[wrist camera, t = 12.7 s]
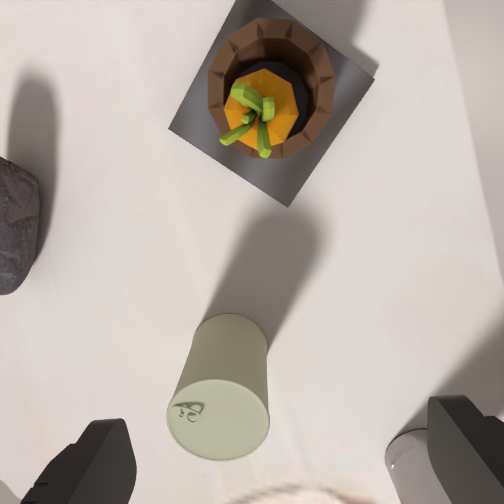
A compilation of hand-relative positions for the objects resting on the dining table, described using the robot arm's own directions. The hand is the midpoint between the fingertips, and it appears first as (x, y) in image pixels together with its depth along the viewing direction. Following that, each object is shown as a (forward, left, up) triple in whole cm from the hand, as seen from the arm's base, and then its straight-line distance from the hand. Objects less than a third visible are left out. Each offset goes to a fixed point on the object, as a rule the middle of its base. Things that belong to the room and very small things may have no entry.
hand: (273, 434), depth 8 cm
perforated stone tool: (+22, +14, -28) cm, 38 cm away
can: (-5, +15, -27) cm, 32 cm away
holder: (+6, -10, -27) cm, 30 cm away
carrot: (+6, -10, -26) cm, 29 cm away
